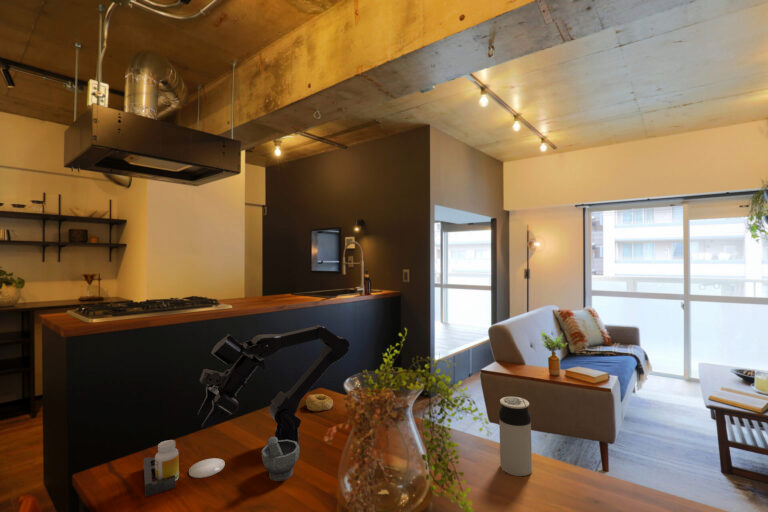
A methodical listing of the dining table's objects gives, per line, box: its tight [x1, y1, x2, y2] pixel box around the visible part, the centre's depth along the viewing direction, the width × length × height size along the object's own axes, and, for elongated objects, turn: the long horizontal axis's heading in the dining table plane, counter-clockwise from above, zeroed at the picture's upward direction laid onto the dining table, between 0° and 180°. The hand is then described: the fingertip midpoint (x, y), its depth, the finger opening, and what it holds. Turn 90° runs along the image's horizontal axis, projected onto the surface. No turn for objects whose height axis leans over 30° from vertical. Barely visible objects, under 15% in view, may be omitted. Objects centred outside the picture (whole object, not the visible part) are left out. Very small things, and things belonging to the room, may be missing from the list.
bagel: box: [305, 393, 334, 412], centre depth 146 cm, size 10×11×5 cm
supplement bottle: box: [154, 439, 180, 482], centre depth 99 cm, size 5×5×10 cm
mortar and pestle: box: [261, 436, 301, 482], centre depth 100 cm, size 11×9×12 cm
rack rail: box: [143, 456, 176, 498], centre depth 100 cm, size 6×15×3 cm, turn 33°
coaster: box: [188, 457, 226, 479], centre depth 104 cm, size 9×9×1 cm
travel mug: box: [498, 396, 533, 477], centre depth 101 cm, size 8×8×18 cm
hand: (200, 422), depth 103 cm, fingers open, 9 cm apart
